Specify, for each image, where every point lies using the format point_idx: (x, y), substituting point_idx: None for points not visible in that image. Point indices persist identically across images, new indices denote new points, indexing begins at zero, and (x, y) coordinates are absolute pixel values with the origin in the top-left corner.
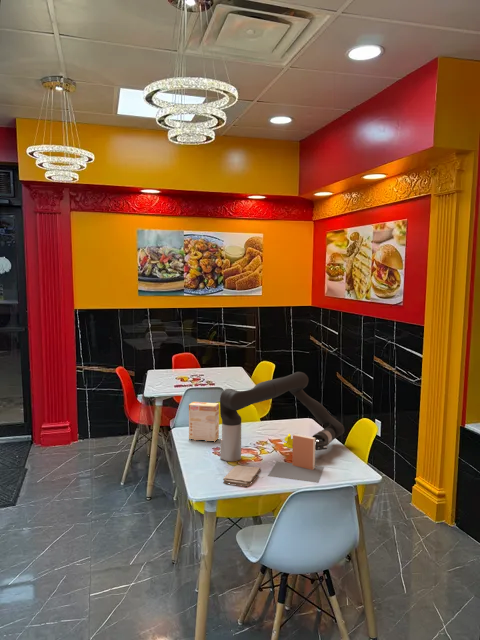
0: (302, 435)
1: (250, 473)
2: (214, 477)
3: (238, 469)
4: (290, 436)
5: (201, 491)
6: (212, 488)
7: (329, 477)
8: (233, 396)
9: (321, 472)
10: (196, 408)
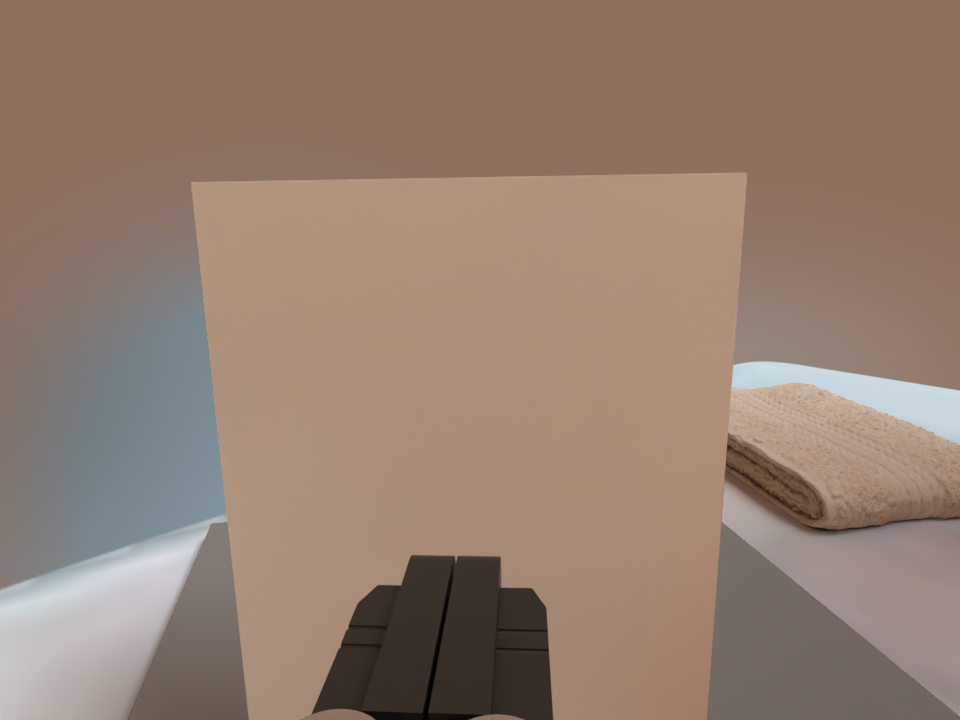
0: (528, 176)
1: (754, 424)
2: (917, 421)
3: (886, 431)
4: None
5: (779, 371)
6: (776, 384)
7: (37, 694)
8: None
9: (144, 703)
10: None
